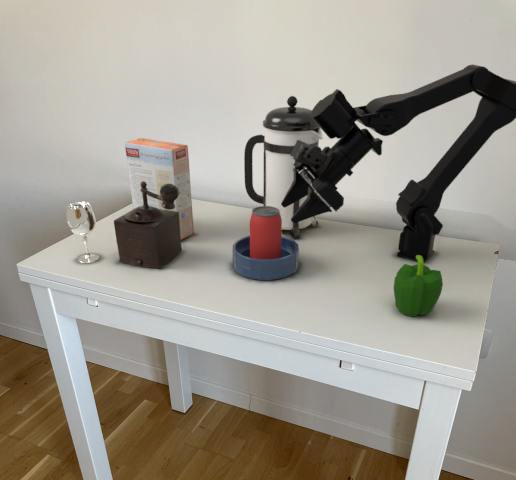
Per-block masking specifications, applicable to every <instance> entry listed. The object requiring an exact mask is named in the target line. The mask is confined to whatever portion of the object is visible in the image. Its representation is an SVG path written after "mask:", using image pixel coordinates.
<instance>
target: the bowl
mask: <svg viewBox="0 0 516 480" xmlns="http://www.w3.org/2000/svg"><path fill="white" fill-rule="evenodd" d="M231 250H232V269H233V270H234V272H236V273H237V274H239V275H240V276H242V277H245V278H249V279H252V280H259V281H271V280H279V279H283V278H286V277H289V276H292V275H293V274H294V273H296V272H297V270H298V268H299V257H300V248H299V244H298V243H297V241H295V239H293V238H290V237H288V236H283V235H281V258H278V259H254V258H250V235H247V236H244V237H241V238H240V239H238V240H237V239H236V240H235V242H234V243H233V244H232V248H231Z"/></svg>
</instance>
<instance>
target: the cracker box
mask: <svg viewBox="0 0 516 480" xmlns="http://www.w3.org/2000/svg"><path fill="white" fill-rule="evenodd" d="M124 148H125V155H126V156H125V157H126V162H127V164H126V165H127V172H128V179H129V186H130V194H131V195H130V196H131V202H132V210H133V209H135V208H137V207H139V206H143V196H142V192H140V190H141V188H142V187H141V184H140V183H141V182H142V181H144V182H146V184H147V186H146V188H147V190H148V191H150V192H152V193H155V194H158V195H160V188H161V187H162V186H163V185H165V184H173V185H175V186H176V187H177V188H178V190H179V192H180V193H179V196H178V198H177V199H176V200H175V201H174V204H175V208H174V209H171V210H169V209H168V210H169V211H175V212H179V221H180V236H181V241H182V240H184V239H186V238H189V237H190V236H192V235H194V234H195V229H194V228H195V227H194V216H193V215H194V214H193V213H194V212H193V201H192V189H191V188H192V186H191V174H190V173H191V172H190V158H189V145H188V144H183V143H175V142H169V141H163V140H156V139H151V138H150V139H149V138H144V137H143V138H142V137H139V138H136V139H132V140H129V141H126V142H124ZM160 196H161V195H160ZM147 201H148V205H149V206H153V207H156V208H158V209H162V210H167V209H164V208H163V207H162V206H161V204H162V202H163V201H161V200H159V199H156V198H153V197H151V196H149V195H147Z"/></svg>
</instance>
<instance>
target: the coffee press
mask: <svg viewBox="0 0 516 480" xmlns="http://www.w3.org/2000/svg"><path fill="white" fill-rule="evenodd" d="M298 102H299V101H298V99H297V97H296V96H294V95H290V96H289V97H288V98H287V100H286V104H287V106H284V107H278V108H277V107H276V108H274V109H272V110H270V111H269V112H267V114H265V117H264V119H263V121H262V126H263V129H264V135H263V134H257V135H253V136H251V137H250V138H248V140H247V142H246V143H245V147H244V156H243V157H244V158H243V163H244V165H243V166H244V186H245V191H246V193H247V196H248V197H249V198H250V199H251V200H252V201H254V202H255V203H257V204H261V205H263V206H271V207H275V208H277V209H279V210H280V212H279V213H280V216H281V219H282V230H284V231H290V232H291V237H292V240H295V239H300V230H302V229H304V228H307V227H309V226H312V227H314V228H317V227H318V226H319V221H318V220H317V219H316V216H313V217H310V218H308V219H305V220H302V221H300V222H297V223H293V222H292V221H291V218H292V217H293V215H294V214H295V213H296V211H297V210H298V209H299V207H300V206H301V205H302V204H303V202H304V201H305V200H306V199H307V197H308V195H307V196H305V197H303V198H301V199H300V200H298V201H296V202H295V203H293V204H291V205H289V206H287V207H285V208H284V207H283V206H282V205H281V203H282V201H283V199H284V197H285V196H286V194H287V192H288V190H289V188H290V186H291V185H292V182H293V180H294V172H293V168H294V169H295V170H297V168H296V167H295V166H294V165H293V164H294V163H295V162H296V160H294V159H293V156H291V152H292V150H293V148H294V146H295V144H296V142H297V140H300V141H302V142H304V143H306V144H308V145H312V144H314V145H315V146H317V147H320V146H319V144H320V140H323V139H324V136H323V130H322V129H321V128H320V127H319V126H318V125H317V123H316V122H315V121H314V120H313V119H312V118H311V116H310V114H311V111H312V110H313V109H309V108H305V107H301V106H300V107H299V106H298V107H297V104H298ZM257 144H263V195H261V194H258V193H257V192H256V190H255V188H254V184H253V182H254V181H253V180H254V179H253V176H254V175H253V173H254V172H253V171H254V170H253V151H254V148H255V146H256V145H257ZM310 185H311V186H312V183H311V184H310ZM313 189H314V188H313ZM314 190H315V189H314ZM315 191H316V190H315ZM315 191H314V192H315ZM314 220H315V223H314V224H313V222H314Z"/></svg>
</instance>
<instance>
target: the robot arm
mask: <svg viewBox="0 0 516 480" xmlns="http://www.w3.org/2000/svg"><path fill="white" fill-rule="evenodd" d="M472 92H473V93H474V94H476V95H477V96H479V97H480V100H479V102H478V105H477V109H476V112H475V115H474V117H473V119H472V120H471V122H470V123H469V124H468V125H467V126H466V127H465V128H464V130H463V131H462V132H461V134H459V136H458V137H457V138H456V140H455V141H454V142H453V144H452V145H450V147H449V148H448V150H447V151H446V152H445V153H444V154H443V156H441V158H440V159H439V161H438V162H437V163H436V164H435V166H433V168H432V169H431V170H430V171H429V173H428V174H427V175H426V176H425V177H424V178H422V179H421V180H419V181H415V180H414V179H410V180H409V181H408V182H407V185H406V186H405V187H404V189H403V190H401V192H399V193H398V198H397V200H396V202H395V207H396V209H395V210H396V213H397V215H399V216H400V217H401V221H402V223H404V224H405V226H403V229H402V232H400V233H399V234H400V235H399V241H398V247H397V250H398V252H397V253H396V256H397V257H400V258H405V259H409V260H412V261H416V262H418V260H417V259H416V256H417V255H421V256H422V257H423V262H424V263H426V262H427V261H428V260H429V259H430V258H431V257H432V256H433V255H434V254H435V250H433V249H434V244H435V239H436V235H439V234H440V232H441V231H442V229H443V226H444V225H443V223H442V222H441V221H440V220H439V219H438V218H437V216H436V214H437V212H438V210H439V209H440V207H441V203H442V199H443V196H444V193H445V192H446V190H447V189H448V188H449V187H450V185H451V184H452V183H453V182H454V181H455V180H456V178H457V177H458V176H459V175H460V173H462V171H463V170H464V169H465V168H466V166H468V164H469V163H470V162H471V161H472V159H473V158H474V157H475V156H476V155H477V153H478V152H479V151H480V150H481V149H482V148H483V146H484V145H485V144H486V143H487V141H489V139H490V138H491V137H492V136H493V134H494V133H495V132H497V131H498V130H501V129H502V128H504V127H506V126H507V125H509V124H511V123H513V122H514V121H515V120H516V80H512V79H508V78H504V77H502V76H500V75H498V74H496V73H494V72H492V71H490V70H489V69H488V68H487V67H486V66H482V65H477V64H473V63H472V64H468V65H466V66H465V67H464V68H462V69H460V70H457V71H456V72H453V73H451V74H448V75H446V76H443V77H441V78H439V79H437V80H434V81H432V82H430V83H428V84H425V85H422V86H421V87H418V88H415V89H413V90H411V91H409V92H404V93H398V94H388V95H384V96H380V97H376V98H374V99H372V100H370V101H369V102H367V104H366V105H365V104H364V105H360V106H355V107H354V106H353V105H352V104H351V103H350V102H349V101H348V99H347V98H346V96H345V94H344V93H343V91H342V90H340V89H338V88H336V89H335V90H334V91H333V92H332V93H329V94H328V95H326V96H324V97H323V99H320V100H319V101H318V102H317V103H316V104H315V105H314V107H313V108H312V109H311V110H312V111H311V114H310V116H311V118H312V119H313V120H314V121H315V122H316V123H317V125H318V126H319V127H320V128H321V131H322V132H323V133H324V134H325V135H326V136H327V137H328V138H329V139H331V140H332V139H335V138H336V139H338V140H337V141H336V142H335V144H334V145H332V146H331V147H330V146H324V147H323V149H322V148H321V146H318V147H317V146H315V145H314V144H312V145H308V144H306V143H304V142H302V141H300V140H297V142H296V144H295V146H294V148H293V150H292V152H291V156H293V159H294V160H296V162H295V163H294V164H293V165H294V166H295V167H296V168H297V170H295V169H294V168H293V172H294V180H293V182H292V185H291V186H290V188H289V190H288V192H287V194H286V196H285V197H284V199H283V201H282V203H281V205H282V206H283V207H284V208H285V207H287V206H289V205H291V204H293V203H295V202H296V201H298V200H300V199H301V198H303V197H305V196H307V195H308V197H307V199H306V200H305V201H304V202H303V204H302V205H301V206H300V207H299V209H298V210H297V211H296V213H295V214H294V215H293V217H292V218H291V221H292V222H293V223H297V222H300V221H302V220H305V219H308V218H310V217H313V216H314V217H316V216H320V215H323V214H325V213H328V212H329V213H332V212H333V211H335V212H338V210H340V209H341V208H342V207H343V206H344V202H345V199H344V198H345V197H344V196H343V195H342V194H341V193H340V192H339V191H338V186H337V185H338V183H340V181H342V179H343V178H344V177H345V176H346V175H347V176H348V177H349V178H350V177H351V176H352V175H353V174H354V172H353V170H352V169H353V168H355V166H356V165H357V164H359V162H360V161H361V160H362V159H363V158H364V157H366V156H367V155H368V153H370V151H372V152H373V153H374V154H376V156H382V154H383V153H382V152H383V147H382V145H383V143H384V140H382V139H380V138H379V137H375V136H373V134H372V133H371V132H370V130H371V131H373V132H375V133H376V134H378V135H380V136H383V137H388V136H392V135H394V134H395V133H397V132H398V131H400V130H402V129H403V128H405V127H406V126H408V125H409V124H410V123H411V121H412V120H414V119H415V118H416V117H418V116H419V115H421V114H423V113H426V112H429V111H431V110H433V109H436V108H438V107H440V106H442V105H445V104H447V103H450V102H452V101H454V100H456V99H459V98H461V97H464V96H466V95H469V94H470V93H472ZM356 122H358V123H359V124H361V125H362V126H364V127H366V128H360V127H359V126H358V124H357V123H356ZM368 128H369V129H368ZM311 183H312V186H311V185H310V184H311ZM313 188H314V189H315V190H314V189H313ZM314 191H315V192H314ZM332 209H333V210H332ZM314 217H313V218H314Z"/></svg>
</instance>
